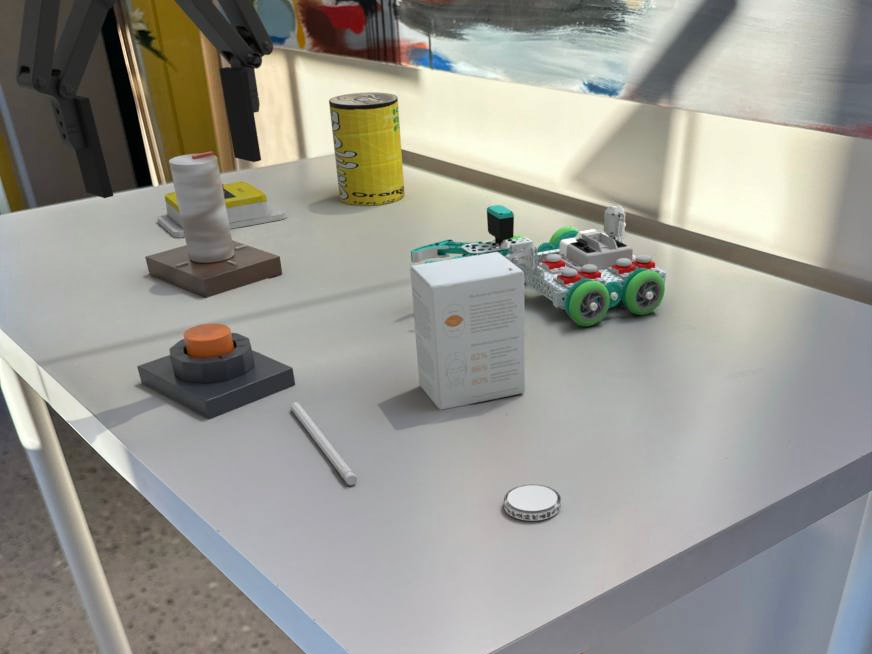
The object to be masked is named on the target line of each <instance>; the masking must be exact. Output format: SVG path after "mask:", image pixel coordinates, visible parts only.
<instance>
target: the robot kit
mask: <svg viewBox="0 0 872 654" xmlns="http://www.w3.org/2000/svg"><path fill="white" fill-rule="evenodd" d="M603 216H604V217H603V220H604V221H603V232H601V231H598V230H596V229H594V228H592V229H587V230H582V231H580V230H578V229H577V228H576V227H573V226H563V227H561V228H559V229H557V230H556V231H555V232H554V233H553V234H552V235H551V237H550V239H549V241H547V242H546V241H545V242H541V243H540V244H539V245H538V246H536V245H535V244H534V240H532V239H531V238H529V237H527V236H524V235H520V234H514V233H515V231H514V227H515V213H514V212H513V210H511V209H509V208H508V207H506V206H505V205H501V204H499V205H498V204H495V205H489V206H487V207H486V221H487V222H486V223H487V233H488V234H489V235H491V236H492V237H494V239H490V240H479V241H472V242H468V241H463V242H462V241H454V239H450V238H449V239H444V240H440V241H437V242H433V243H430V244H425V245H421V246H419V247H416V248H414V249H411V250H410V261H411V263H412V264H416V263H420V262H422V261H424V264H426V263H432V262H438V261H439V260H430V259H441V260H440V261H444V260H445V258H448V259H447V260H450V259H457V258H463V257H469V256H475V255H482V254H488V253H493V252H498V253H500V254H501V255H502V256H504V257H505V258H506V259H508V260H509V261H510V262H512V263H513V264H514V265H516V266H517V267H518V268H519V269H521V270H522V271H523V272H524V284H526V285H528V286H529V287H530V288H532V289H534V290H535V291H537V292H538V293H539V294H541V295H543V296H544V297H545V298H547V299H548V300H550V301H551V302H552V305H553V307H555V308H556V309H558V308H560V309H562V310H565V312H566V314H567V316H568V317H569V318H571V319H572V321H573V322H574V323H576V324H577V325H578V326H582V327H591V326H594V325H596V324H598V323H599V322H600V321H601V320H602V319H604V317H605V316H606V315H607V312H608V310H609V309H611V308H612V309H613V308H615V307H617V306H619V304H620V302H621V303H622V304H623V305H624V307H625V308H627V309H628V310H629V311H630V312H631V313H633V314H635V315H637V316H646V315H649V314H651V313H653V312H654V311H655V310H657V308H658V307H659V306H660V305H661V303H662V301H663V298H664V296H665V291H666V287H665V286H666V277H667V276H666V275H667V272H666V271H665V270H663V269H660V267H658V266H656V262H655V261H653V259H652V256H651V255H649V254H639V255H635V254H634V253H633V251H634V249H633V248H632V247H630V246H629V245H627V244H626V243H625V241H624V236H625V233H626V232H625V229H626V225H627V223H626V210H625V209H624V208H623V207H622V205H620V204H611V205H609V206H607V208H606V209H605V210H604V215H603ZM450 254H451V255H457V256H453V257H452V258H450ZM442 259H443V260H442ZM425 260H427V261H425ZM563 298H564V299H563Z"/></svg>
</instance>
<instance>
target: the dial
mask: <svg viewBox="0 0 872 654" xmlns="http://www.w3.org/2000/svg"><path fill="white" fill-rule="evenodd" d="M168 164H169V168H170V173H171V178H172V182H173V188H174V192H175V193H176V198H177V202H178V207H179V212H180V217H181V221H182V226H183V231H184V236H185V237H184V240H185V245H187V250H188V255H189V259H190V260H192V261H194V262H199V263H212V262H219V261H223V260H226V259H229V258H231V257H232V256H233V255H234V248H233V243H232V240H233V237H232V233H231V229H230V226H229V221H228V215H227V210H226V204H225V199H224V193H223V188H222V184H223V182H222V178H221V171H220V167H219V166H220V165H219V162H218V156H216V155H215V154H214V151H206V152H201V153H189V154H188V153H187V154H183V155H178V156H174V157H172V158H170V159H169V160H168Z"/></svg>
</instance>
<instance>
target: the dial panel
mask: <svg viewBox="0 0 872 654" xmlns="http://www.w3.org/2000/svg"><path fill="white" fill-rule="evenodd" d="M232 243H233V248H234V255H233V256H232V257H231V258H229V259H226V260H223V261H219V262H212V263H199V262H194V261H192V260H190V259H189V255H188V250H187V245H186V244H184V245H182V246H179V247H174V248H171V249H167V250H164V251H160V252H157V253H153V254H150V255H149V254H148V255H146V256H144V258H145V261H146V266H147V270H148V274H149V275H150V276H153V277H155V278H158V279H159V280H162V281H164V282H167V283H170V284H172V285H175V286H178V287H179V288H182V289H184V290H187V291H189V292H192V293H195V294H197V295H200V296H202V297H205V298H207V299H208V298H210V297H214V296H217V295H220V294H223V293H227V292H229V291H234V290H235V289H239V288H242V287H245V286H248V285H252V284H255V283H258V282H261V281H265V280H267V279H271V278H274V277H275V278H276V277H278V276H281V275H283V268H282V261H281V257H280V255H278V254H274V253H271V252H268V251H265V250H262V249H259V248H256V247H253V246H250V245H248V244H244V243H241V242H239V241H236V240H233V239H232Z"/></svg>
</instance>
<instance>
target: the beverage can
mask: <svg viewBox="0 0 872 654" xmlns="http://www.w3.org/2000/svg"><path fill="white" fill-rule="evenodd" d="M328 102H329V103H328V105H329V113H330V114H329V115H330V122H331V124H330V125H331V132H332V138H333V139H332V142H333V150H334V158H335V167H336V169H335V170H336V177H337V187H338V194H339V195H338V196H339V201H341V202H342V203H345V204H348V205H352V206H353V205H354V206H380V205H387V204H391V203H395V202H399V201H400V200H402V199H404V198H405V181H404V168H403V167H404V166H403V154H402V153H403V152H402V141H401V140H402V139H401V127H400V126H401V125H400V113H399V112H400V111H399V99H398V96H397V94H394V93H387V92H373V91H371V92H370V91H369V92H353V93H346V94H340V95H336V96H334V97H332V98H329V100H328Z"/></svg>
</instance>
